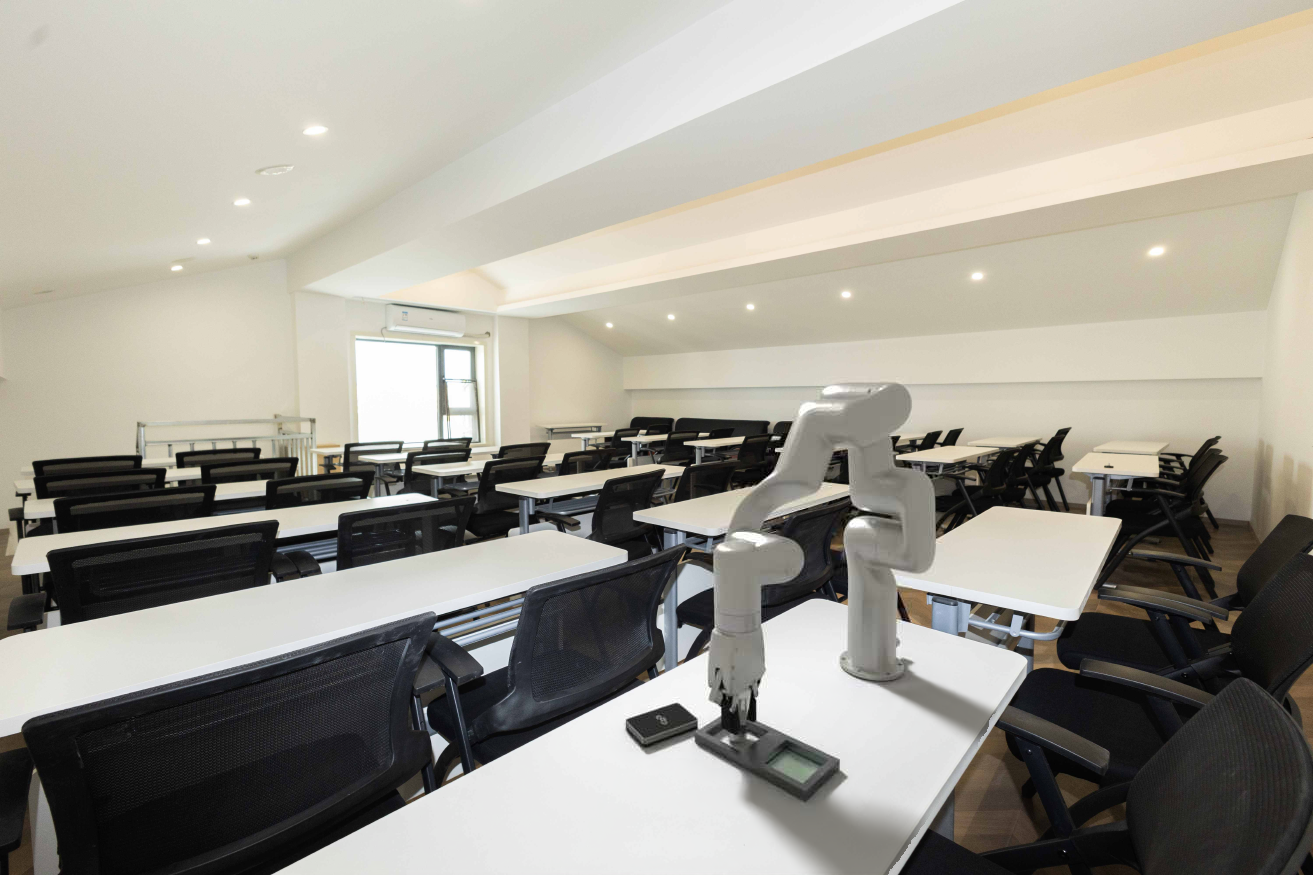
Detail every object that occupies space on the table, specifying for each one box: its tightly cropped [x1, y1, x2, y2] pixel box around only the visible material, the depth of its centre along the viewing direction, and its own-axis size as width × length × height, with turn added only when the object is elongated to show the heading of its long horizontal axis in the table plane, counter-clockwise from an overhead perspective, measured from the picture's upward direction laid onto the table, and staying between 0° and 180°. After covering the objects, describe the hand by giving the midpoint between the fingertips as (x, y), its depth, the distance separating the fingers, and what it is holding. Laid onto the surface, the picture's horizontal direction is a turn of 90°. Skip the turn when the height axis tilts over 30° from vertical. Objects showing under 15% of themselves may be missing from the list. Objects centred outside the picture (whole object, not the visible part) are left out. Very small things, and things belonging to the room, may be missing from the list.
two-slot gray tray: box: [694, 715, 841, 803], centre depth 94 cm, size 10×21×2 cm, turn 45°
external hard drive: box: [625, 702, 699, 749], centre depth 102 cm, size 7×11×2 cm, turn 120°
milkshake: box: [726, 681, 756, 743], centre depth 98 cm, size 4×5×10 cm
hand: (739, 723), depth 98 cm, fingers closed on milkshake, 4 cm apart
